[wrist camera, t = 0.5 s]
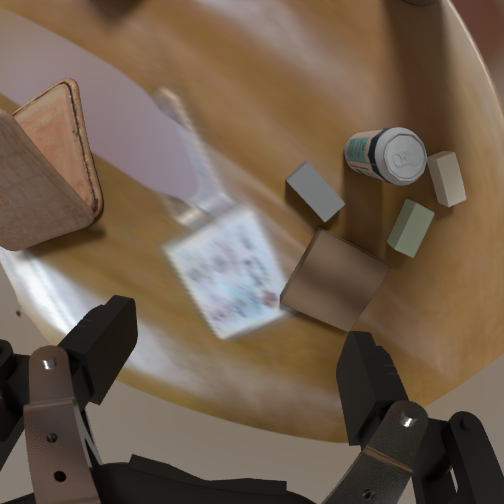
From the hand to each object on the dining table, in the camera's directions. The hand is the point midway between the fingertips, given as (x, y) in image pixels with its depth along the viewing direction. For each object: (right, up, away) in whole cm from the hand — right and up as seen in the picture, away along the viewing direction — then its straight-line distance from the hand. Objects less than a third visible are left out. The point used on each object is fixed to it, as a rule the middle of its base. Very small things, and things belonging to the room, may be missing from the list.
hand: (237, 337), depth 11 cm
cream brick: (+24, +13, +21) cm, 35 cm away
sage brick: (+20, +6, +24) cm, 31 cm away
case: (-30, +15, +24) cm, 41 cm away
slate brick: (+7, +10, +23) cm, 26 cm away
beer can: (+13, +14, +21) cm, 29 cm away
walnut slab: (+11, 0, +26) cm, 28 cm away
